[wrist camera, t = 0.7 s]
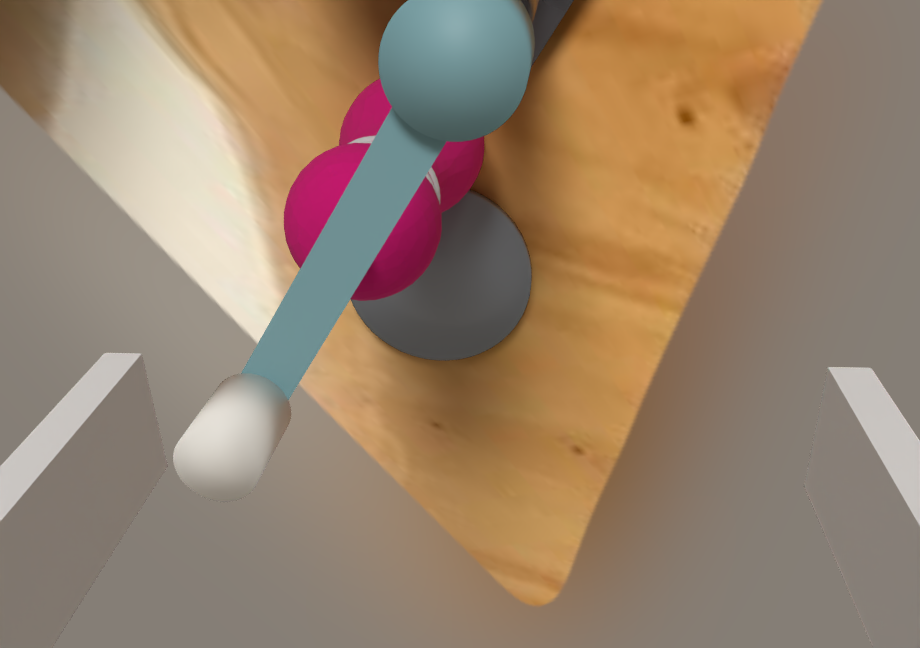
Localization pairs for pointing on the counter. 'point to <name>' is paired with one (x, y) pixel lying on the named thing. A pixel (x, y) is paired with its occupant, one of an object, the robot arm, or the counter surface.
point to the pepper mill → (419, 221)
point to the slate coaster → (459, 288)
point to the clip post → (545, 19)
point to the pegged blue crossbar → (364, 218)
